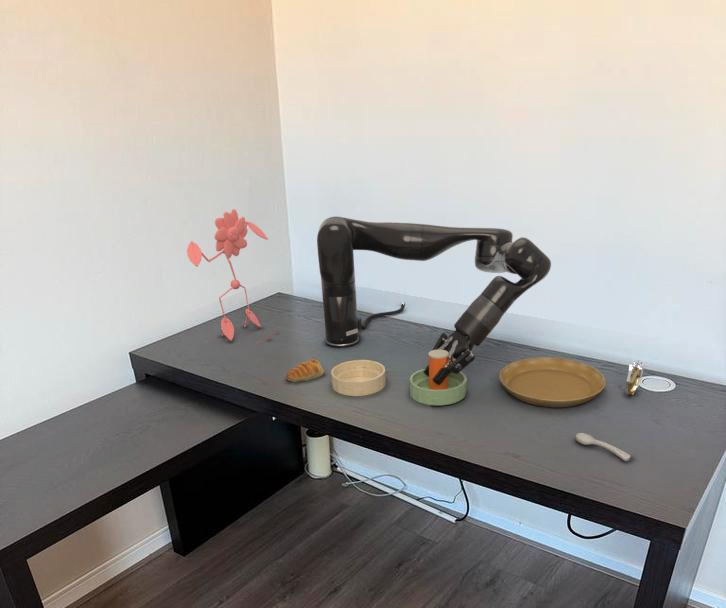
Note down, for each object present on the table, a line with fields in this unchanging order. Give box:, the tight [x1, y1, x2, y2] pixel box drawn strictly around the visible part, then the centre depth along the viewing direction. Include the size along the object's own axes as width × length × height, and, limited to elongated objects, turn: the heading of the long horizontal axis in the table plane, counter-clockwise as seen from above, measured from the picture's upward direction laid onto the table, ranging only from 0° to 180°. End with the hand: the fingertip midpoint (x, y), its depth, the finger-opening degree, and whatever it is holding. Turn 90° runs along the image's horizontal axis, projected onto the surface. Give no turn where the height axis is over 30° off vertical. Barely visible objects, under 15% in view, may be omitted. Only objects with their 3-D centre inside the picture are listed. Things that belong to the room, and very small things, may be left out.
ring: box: [625, 360, 645, 396], centre depth 155 cm, size 7×3×8 cm, turn 137°
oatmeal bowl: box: [330, 359, 387, 397], centre depth 167 cm, size 13×13×4 cm
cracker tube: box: [428, 348, 448, 390], centre depth 159 cm, size 5×5×10 cm
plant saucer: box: [498, 356, 607, 408], centre depth 160 cm, size 24×24×3 cm
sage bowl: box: [409, 368, 468, 406], centre depth 161 cm, size 13×13×4 cm
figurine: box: [186, 208, 280, 345], centre depth 192 cm, size 15×26×35 cm, turn 141°
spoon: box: [575, 432, 631, 462], centre depth 137 cm, size 3×12×2 cm, turn 41°
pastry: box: [286, 358, 325, 383], centre depth 173 cm, size 9×7×4 cm
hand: (430, 378), depth 159 cm, fingers closed on cracker tube, 4 cm apart
